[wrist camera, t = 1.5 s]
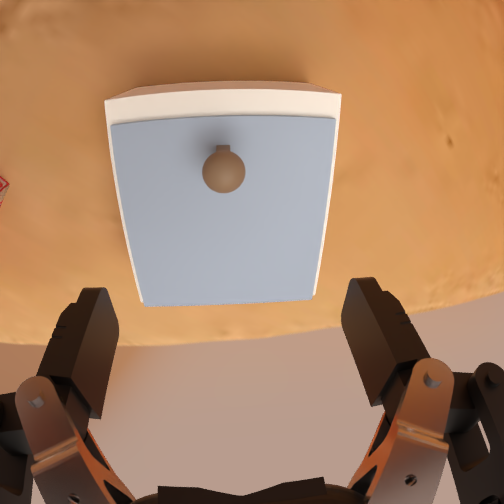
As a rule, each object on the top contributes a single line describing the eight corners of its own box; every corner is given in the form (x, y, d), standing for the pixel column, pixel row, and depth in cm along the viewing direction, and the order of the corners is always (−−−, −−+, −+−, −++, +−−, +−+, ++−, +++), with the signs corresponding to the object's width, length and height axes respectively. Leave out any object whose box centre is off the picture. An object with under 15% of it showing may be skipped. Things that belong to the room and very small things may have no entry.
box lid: (112, 124, 22) (85, 144, 17) (333, 117, 23) (362, 135, 18) (145, 302, 32) (136, 345, 27) (310, 295, 33) (323, 336, 28)
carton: (135, 87, 29) (104, 100, 20) (308, 82, 30) (341, 94, 22) (155, 248, 40) (141, 302, 32) (296, 243, 41) (314, 295, 33)
